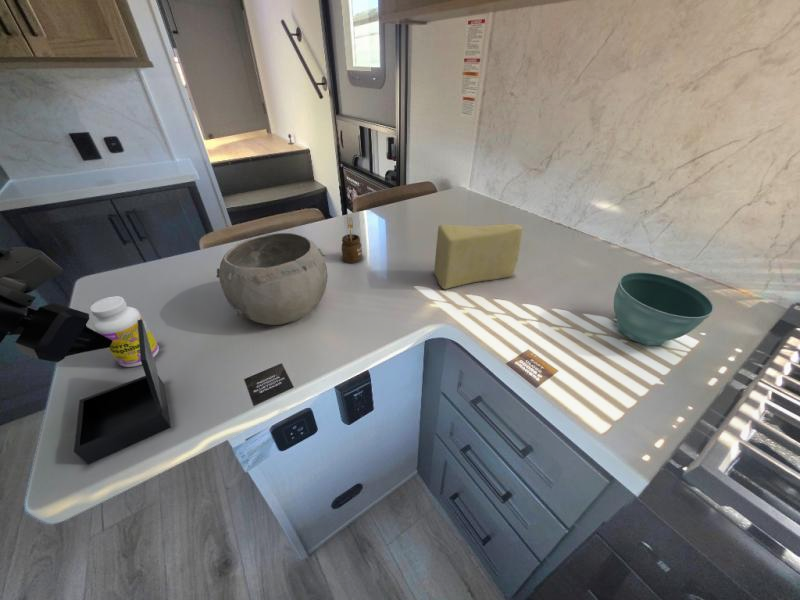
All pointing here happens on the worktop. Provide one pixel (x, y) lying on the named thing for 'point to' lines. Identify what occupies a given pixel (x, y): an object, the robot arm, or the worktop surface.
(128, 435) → the black open box
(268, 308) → the bowl
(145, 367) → the lid
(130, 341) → the supplement bottle
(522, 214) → the worktop surface
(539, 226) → the worktop surface
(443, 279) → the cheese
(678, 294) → the teal green bowl
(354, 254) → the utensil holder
